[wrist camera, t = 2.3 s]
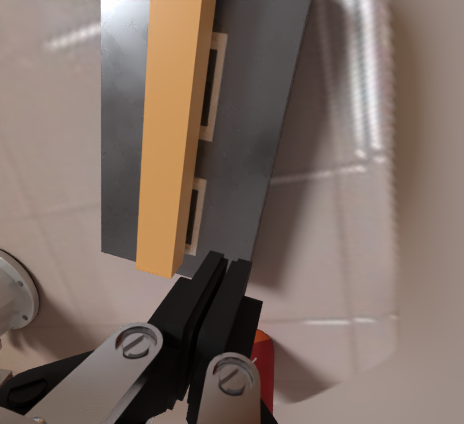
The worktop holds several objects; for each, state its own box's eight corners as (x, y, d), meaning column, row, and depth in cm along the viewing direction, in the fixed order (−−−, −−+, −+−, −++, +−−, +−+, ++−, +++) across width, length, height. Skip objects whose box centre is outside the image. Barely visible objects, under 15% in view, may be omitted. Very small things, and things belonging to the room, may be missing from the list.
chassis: (249, 268, 30) (240, 297, 25) (124, 234, 31) (96, 255, 27) (316, -16, 20) (320, -48, 16) (133, -40, 22) (93, -74, 18)
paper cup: (245, 306, 31) (207, 447, 18) (298, 350, 32) (296, 517, 19) (204, 342, 34) (146, 484, 22) (252, 382, 35) (224, 543, 22)
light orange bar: (172, -59, 17) (152, -84, 15) (224, -53, 17) (212, -77, 14) (149, 253, 25) (134, 268, 23) (183, 263, 25) (172, 279, 23)
